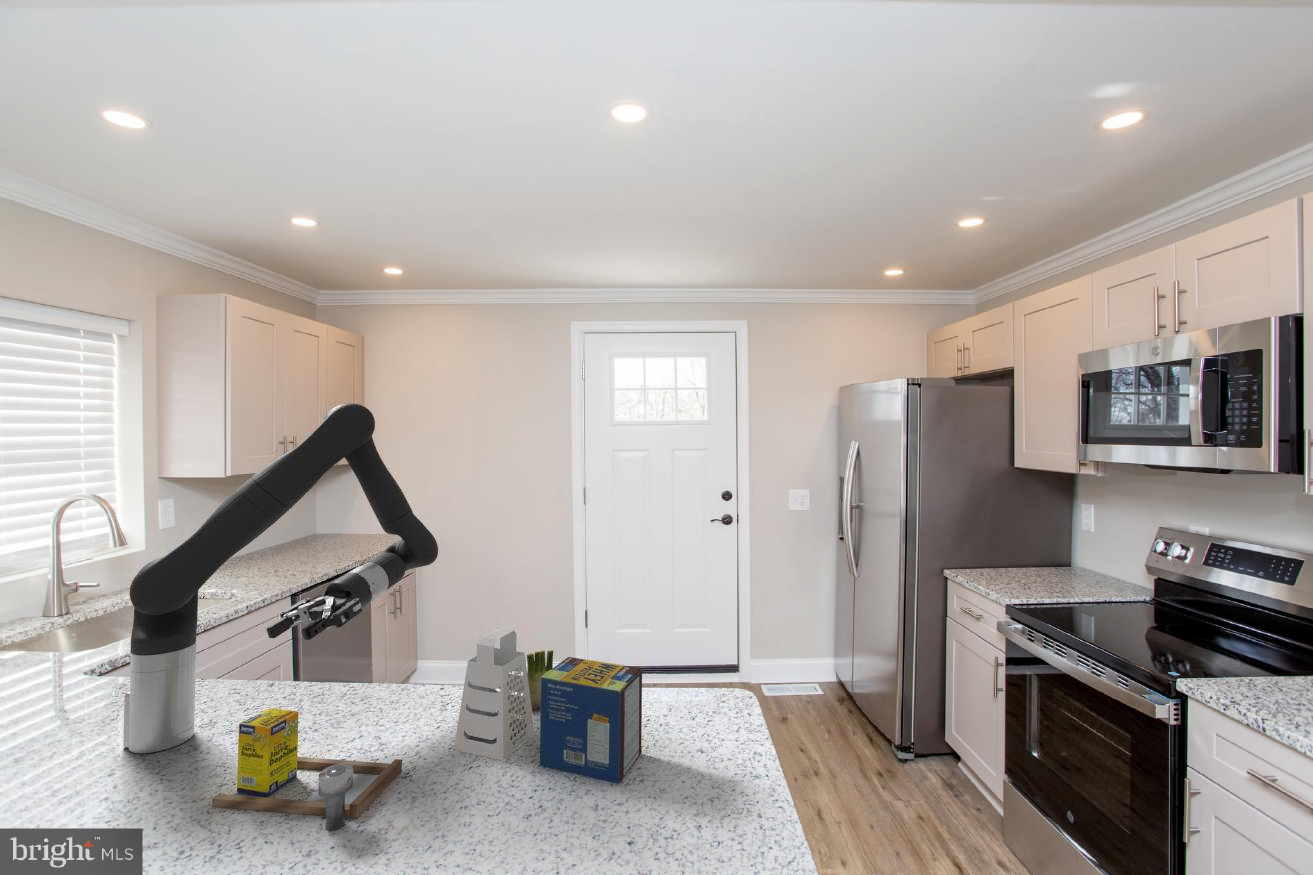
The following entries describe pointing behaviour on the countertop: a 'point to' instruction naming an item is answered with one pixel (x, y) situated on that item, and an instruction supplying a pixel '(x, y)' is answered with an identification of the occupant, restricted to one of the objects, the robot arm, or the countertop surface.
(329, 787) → the grey bolt
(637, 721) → the protein box
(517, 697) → the grater
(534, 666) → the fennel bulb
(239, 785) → the supplement box
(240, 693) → the countertop surface
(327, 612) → the robot arm
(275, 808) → the bay
